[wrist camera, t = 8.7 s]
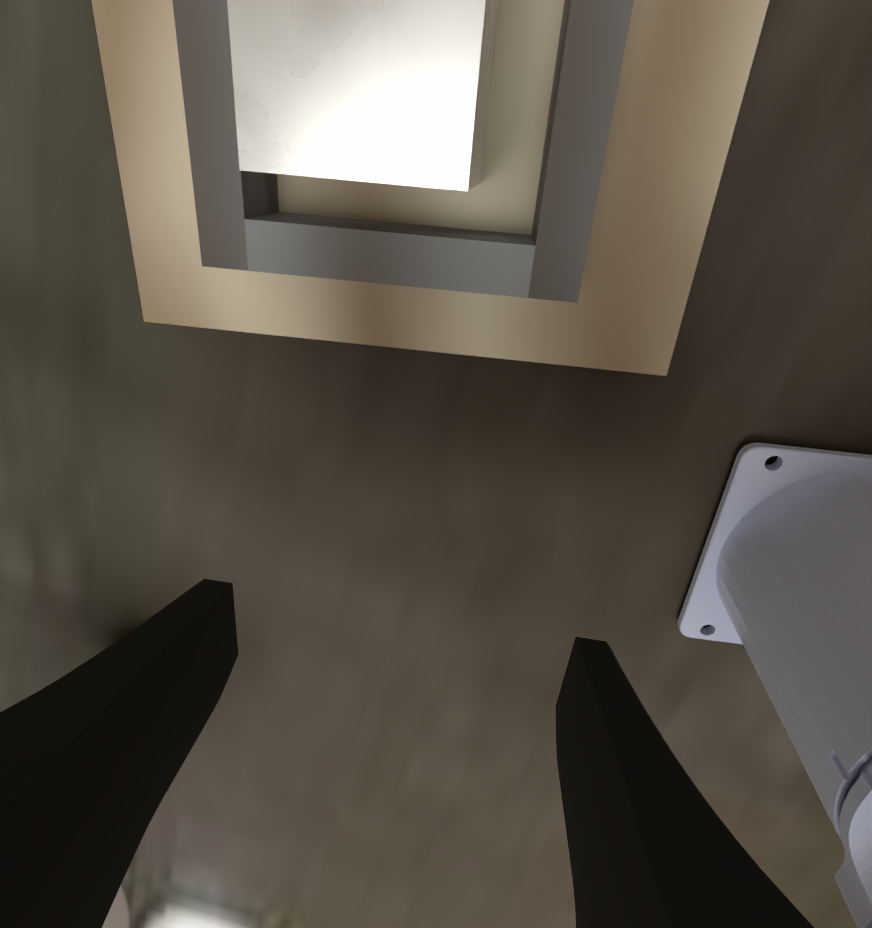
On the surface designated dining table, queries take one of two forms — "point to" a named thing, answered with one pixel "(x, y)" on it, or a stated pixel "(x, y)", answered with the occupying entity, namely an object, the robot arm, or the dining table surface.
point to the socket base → (442, 210)
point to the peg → (364, 88)
